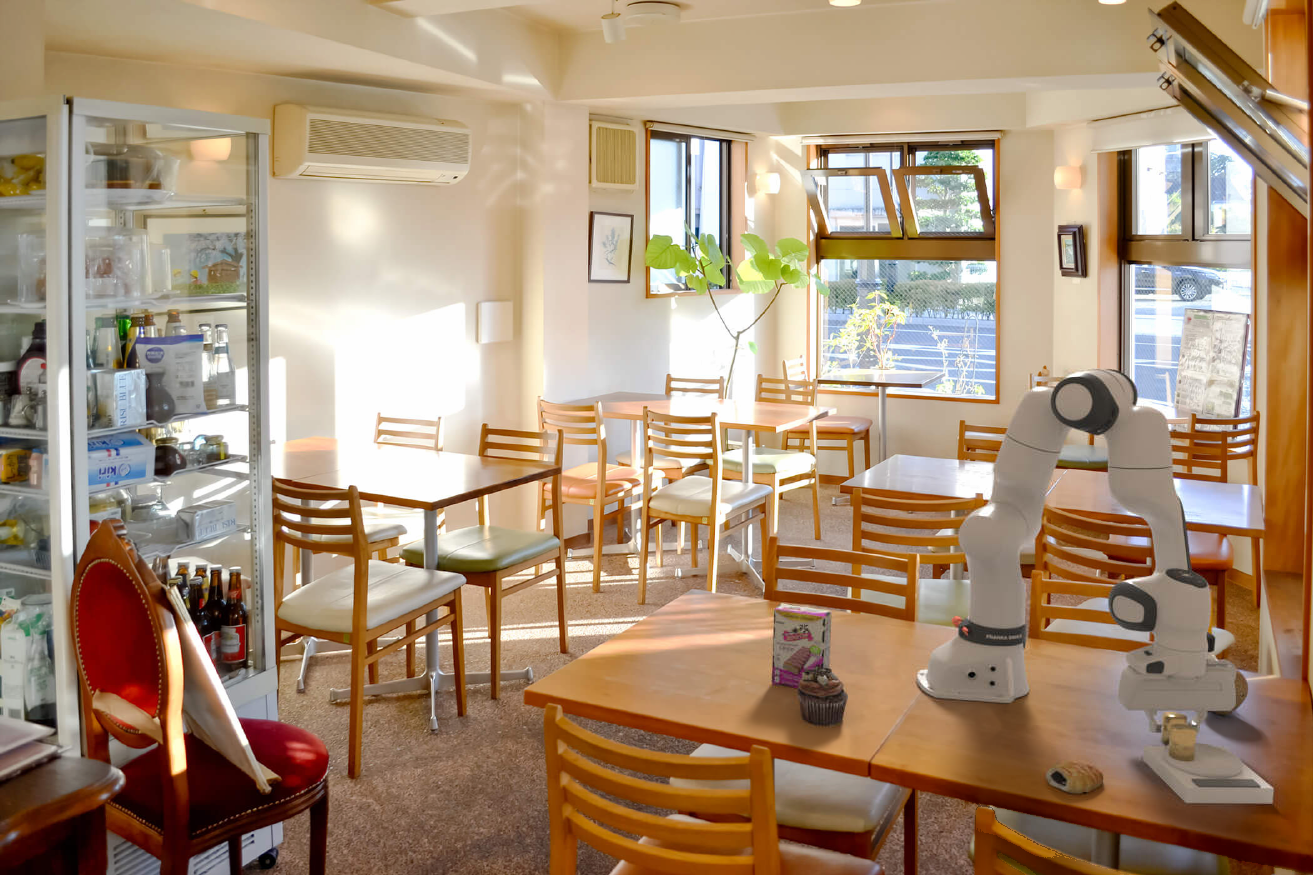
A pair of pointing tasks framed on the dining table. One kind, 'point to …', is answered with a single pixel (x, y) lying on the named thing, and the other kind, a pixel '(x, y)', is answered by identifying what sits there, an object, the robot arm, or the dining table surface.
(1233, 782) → the scale
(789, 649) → the candy bar box
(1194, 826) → the dining table surface
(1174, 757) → the cylinder
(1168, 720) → the cylinder
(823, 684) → the cupcake
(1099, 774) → the pastry
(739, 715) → the dining table surface
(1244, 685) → the natural sponge
